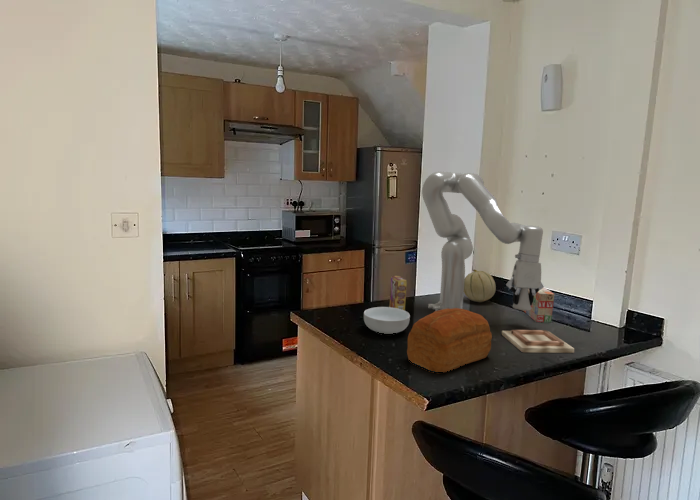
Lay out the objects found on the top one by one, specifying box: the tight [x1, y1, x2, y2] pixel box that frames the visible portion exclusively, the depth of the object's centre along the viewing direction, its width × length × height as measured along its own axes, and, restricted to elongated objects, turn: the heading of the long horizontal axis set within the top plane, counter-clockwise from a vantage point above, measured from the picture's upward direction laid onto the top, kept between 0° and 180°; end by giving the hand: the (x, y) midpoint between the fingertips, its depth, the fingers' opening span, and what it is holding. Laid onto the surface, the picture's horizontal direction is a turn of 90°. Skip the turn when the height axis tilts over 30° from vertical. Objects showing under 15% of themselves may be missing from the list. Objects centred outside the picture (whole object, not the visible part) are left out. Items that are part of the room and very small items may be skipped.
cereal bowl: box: [363, 306, 411, 335], centre depth 177 cm, size 17×17×7 cm
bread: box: [406, 308, 493, 373], centre depth 152 cm, size 16×27×16 cm, turn 130°
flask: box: [511, 288, 531, 311], centre depth 188 cm, size 7×7×10 cm
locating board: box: [501, 329, 575, 354], centre depth 171 cm, size 18×18×3 cm
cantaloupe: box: [464, 269, 497, 303], centre depth 225 cm, size 15×15×15 cm
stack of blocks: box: [522, 286, 556, 323], centre depth 207 cm, size 21×6×12 cm, turn 0°
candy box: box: [388, 275, 408, 311], centre depth 200 cm, size 9×4×15 cm, turn 13°
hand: (522, 303), depth 188 cm, fingers closed on flask, 4 cm apart
